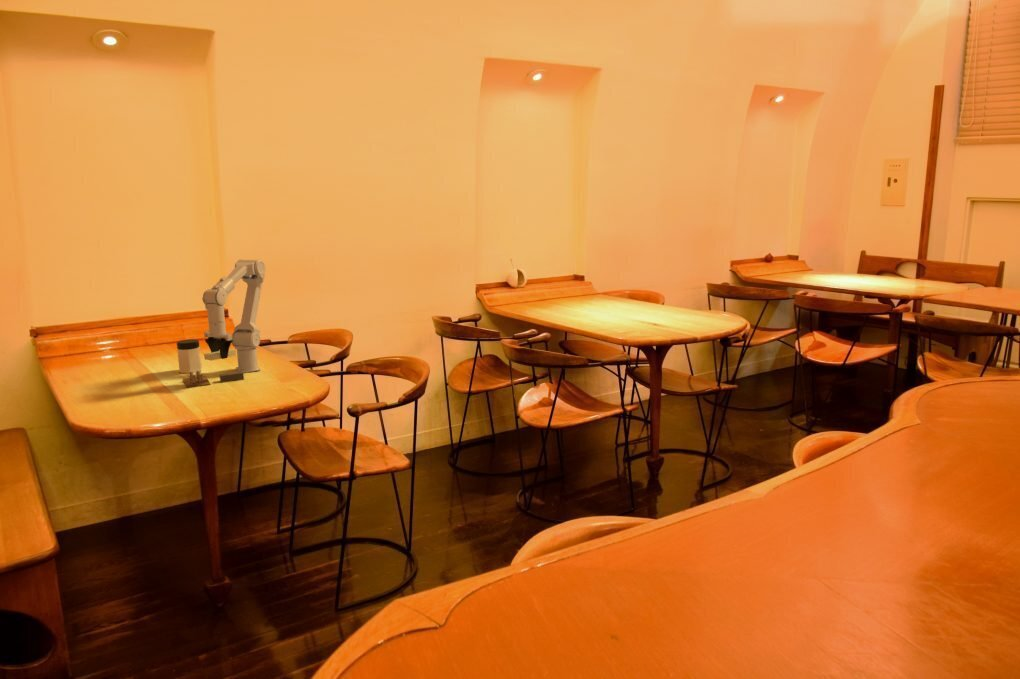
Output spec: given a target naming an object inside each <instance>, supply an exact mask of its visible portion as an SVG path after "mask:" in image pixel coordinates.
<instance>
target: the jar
mask: <svg viewBox="0 0 1020 679" xmlns="http://www.w3.org/2000/svg"><path fill="white" fill-rule="evenodd" d="M176 348H177V350H176V351H177V352H176V353H177V359H178V368H179V374H180V373H181V374H189V372H193V373H196V371H200V372H201V371H202V369H203V368H202V355H201V351H200V350H201V349H200V340H199V339H196V338H194V339H193V338H191V339H181V340H178V341H177V342H176Z"/></svg>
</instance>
